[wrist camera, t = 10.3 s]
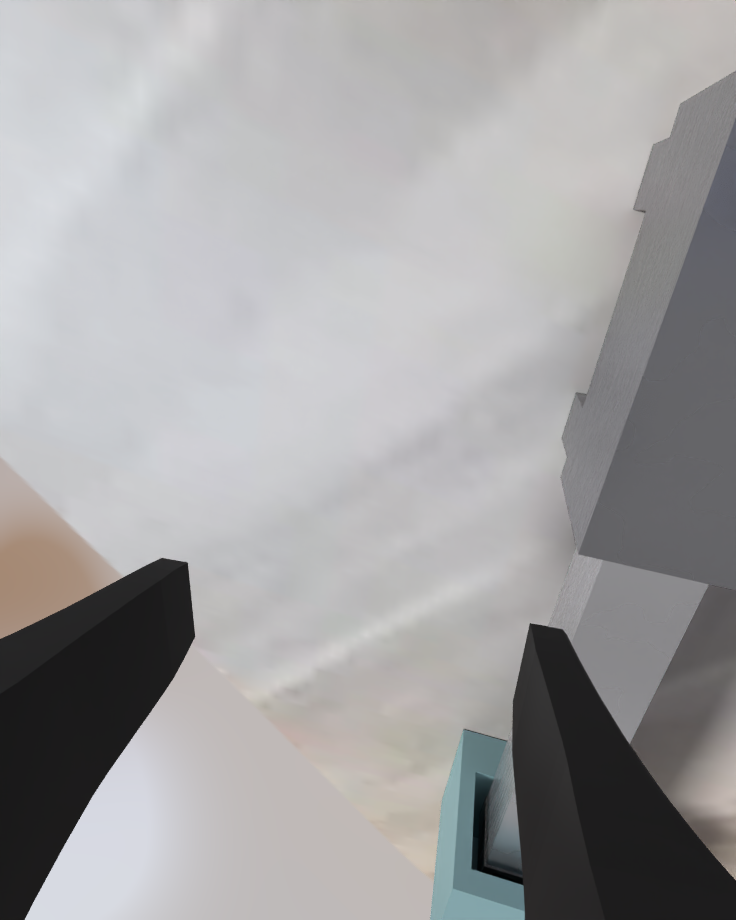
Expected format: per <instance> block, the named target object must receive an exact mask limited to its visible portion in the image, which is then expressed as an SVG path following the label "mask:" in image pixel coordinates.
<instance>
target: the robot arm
mask: <svg viewBox="0 0 736 920" xmlns="http://www.w3.org/2000/svg"><path fill="white" fill-rule="evenodd" d="M194 638H195V631H194V621H193V611H192V601H191V591H190V581H189V571H188V563H187V562H181V561H176V560H170V559H164V558H161V559H159V560H157V561H155V562H152V563H150V564H148V565H146V566H144V567H142V568H140V569H139V570H137V571H135V572H133V573H131V574H129V575H127V576H125V577H123V578H122V579H120V580H118V581H116V582H114V583H112V584H110V585H109V586H107V587H105V588H103V589H101V590H99V591H97V592H95V593H93V594H91V595H90V596H88V597H86V598H84V599H82V600H80V601H78V602H76V603H74V604H72V605H71V606H69V607H67V608H65V609H63V610H60V611H58V612H57V613H54V614H52V615H50V616H48V617H46V618H44V619H42V620H40V621H38V622H36V623H34V624H32V625H30V626H27V627H25V628H23V629H21V630H19V631H17V632H15V633H13V634H11V635H8V636H6V637H4V638H2V639H0V920H25V918H26V916H27V914H28V912H29V910H30V908H31V906H32V904H33V902H34V900H35V898H36V896H37V895H38V893H39V891H40V889H41V887H42V885H43V883H44V882H45V880H46V878H47V876H48V874H49V872H50V871H51V869H52V867H53V865H54V863H55V861H56V859H57V858H58V856H59V854H60V852H61V850H62V848H63V847H64V845H65V843H66V841H67V840H68V838H69V836H70V834H71V833H72V831H73V829H74V827H75V826H76V824H77V822H78V820H79V819H80V817H81V815H82V814H83V812H84V810H85V808H86V807H87V805H88V803H89V801H90V800H91V798H92V796H93V795H94V793H95V791H96V790H97V788H98V787H99V785H100V784H101V782H102V781H103V779H104V778H105V776H106V775H107V773H108V772H109V770H110V769H111V767H112V766H113V765H114V763H115V762H116V760H117V759H118V757H119V756H120V755H121V753H122V752H123V750H124V749H125V747H126V746H127V745H128V743H129V742H130V740H131V739H132V737H133V736H134V734H135V733H136V732H137V730H138V729H139V728H140V726H141V725H142V723H143V722H144V720H145V719H146V717H147V716H148V715H149V713H150V712H151V710H152V709H153V708H154V706H155V705H156V703H157V702H158V700H159V699H160V697H161V696H162V695H163V693H164V692H165V690H166V689H167V687H168V686H169V684H170V682H171V681H172V680H173V678H174V676H175V674H176V673H177V671H178V669H179V667H180V665H181V663H182V662H183V660H184V658H185V656H186V654H187V652H188V650H189V648H190V646H191V644H192V642H193V640H194ZM512 758H513V770H514V782H515V794H516V805H517V816H518V827H519V838H520V850H521V861H522V872H523V886H524V906H525V920H736V880H735V879H734V878H733V877H732V876H731V875H730V874H729V872H728V871H727V870H726V869H725V868H724V867H723V866H722V865H721V864H720V862H719V861H718V860H717V859H716V858H715V857H714V856H713V854H712V853H711V852H710V851H709V850H708V848H707V847H706V846H705V845H704V843H703V842H702V841H701V840H700V839H699V837H698V836H697V835H696V834H695V833H694V831H693V830H692V829H691V828H690V826H689V825H688V824H687V823H686V821H685V820H684V819H683V817H682V816H681V815H680V814H679V812H678V811H677V810H676V808H675V807H674V806H673V805H672V803H671V802H670V801H669V799H668V798H667V797H666V795H665V794H664V793H663V791H662V790H661V789H660V787H659V786H658V784H657V783H656V782H655V780H654V779H653V777H652V776H651V775H650V773H649V772H648V770H647V769H646V767H645V766H644V765H643V763H642V762H641V760H640V759H639V757H638V756H637V754H636V753H635V751H634V750H633V749H632V747H631V745H630V744H629V742H628V741H627V739H626V738H625V736H624V735H623V733H622V732H621V730H620V728H619V727H618V725H617V724H616V722H615V720H614V719H613V717H612V715H611V714H610V712H609V711H608V709H607V707H606V706H605V704H604V702H603V701H602V699H601V697H600V696H599V694H598V692H597V690H596V689H595V687H594V685H593V683H592V682H591V680H590V678H589V676H588V674H587V673H586V671H585V669H584V667H583V665H582V663H581V661H580V660H579V658H578V656H577V654H576V652H575V650H574V648H573V646H572V644H571V642H570V640H569V638H568V636H567V634H566V633H565V632H564V630H563V629H559V628H553V627H548V626H542V625H536V624H531V623H530V626H529V630H528V635H527V639H526V644H525V649H524V653H523V658H522V663H521V667H520V672H519V676H518V681H517V686H516V690H515V695H514V699H513V727H512Z"/></svg>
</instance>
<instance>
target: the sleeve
mask: <svg viewBox="0 0 736 920" xmlns="http://www.w3.org/2000/svg"><path fill="white" fill-rule="evenodd" d="M633 210H640V211H646V213H645V216H644V219H643V222H642V225H641V228H640V231H639V235H638V238H637V241H636V244H635V247H634V250H633V253H632V256H631V259H630V263H629V266H628V269H627V272H626V275H625V278H624V281H623V284H622V287H621V291H620V294H619V297H618V300H617V303H616V306H615V309H614V312H613V315H612V319H611V322H610V325H609V328H608V331H607V334H606V337H605V340H604V343H603V347H602V350H601V353H600V356H599V359H598V362H597V365H596V368H595V372H594V375H593V378H592V381H591V384H590V387H589V390H588V393H587V395H586V394H581V393H576V394H575V398H574V401H573V404H572V407H571V410H570V414H569V417H568V420H567V423H566V426H565V430H564V433H563V436H562V441H563V444H564V448H565V452H566V455H567V459H566V462H565V465H564V468H563V471H562V474H561V481H562V486H563V490H564V494H565V499H566V503H567V508H568V512H569V516H570V521H571V525H572V530H573V534H574V538H575V543H576V547H577V551H578V554H579V555H583V556H587V557H592V558H596V559H600V560H605V561H609V562H614V563H618V564H622V565H627V566H631V567H635V568H640V569H644V570H648V571H653V572H657V573H662V574H666V575H670V576H675V577H679V578H683V579H688V580H692V581H696V582H701V583H705V584H709V585H714V586H718V587H723V588H727V589H731V590H736V71H735V72H733V73H731V74H730V75H728V76H726V77H725V78H723V79H721V80H720V81H718V82H716V83H715V84H713V85H711V86H709V87H708V88H706V89H704V90H703V91H701V92H699V93H698V94H696V95H694V96H693V97H691V98H689V99H687V100H686V101H684V102H682V103H681V104H680V107H679V110H678V113H677V116H676V119H675V123H674V126H673V129H672V132H671V135H670V138H667V139H665V140H663V141H660V142H658V143H656V144H653V148H652V151H651V154H650V157H649V160H648V164H647V167H646V170H645V173H644V176H643V180H642V183H641V186H640V189H639V192H638V196H637V199H636V202H635V205H634V208H633Z"/></svg>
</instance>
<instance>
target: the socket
mask: <svg viewBox="0 0 736 920" xmlns="http://www.w3.org/2000/svg"><path fill="white" fill-rule="evenodd" d="M506 743H507V741H503V740H500V739H496V738H492V737H489V736H485V735H482V734H478V733H474V732H471V731H467V730H463V733H462V736H461V740H460V743H459V746H458V750H457V753H456V756H455V759H454V763H453V766H452V769H451V773H450V776H449V779H448V783H447V786H446V789H445V792H444V796H443V799H442V805H441V815H440V825H439V835H438V846H437V856H436V866H435V876H434V887H433V897H432V907H431V917H430V920H525V906H524V886H523V885H521V884H518V883H514V882H511V881H508V880H505V879H501V878H498V877H495V876H492V875H489V874H485V873H482V872H479V871H477V863H478V834H479V814H480V811H481V808H482V805H483V803H484V800H485V797H487V796H488V793H489V791H490V788H491V785H492V782H493V779H494V777H495V774H496V771H497V768H498V765H499V763H500V760H501V757H502V754H503V751H504V749H505V746H506Z"/></svg>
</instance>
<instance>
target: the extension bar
mask: <svg viewBox="0 0 736 920" xmlns="http://www.w3.org/2000/svg"><path fill="white" fill-rule="evenodd" d="M708 585H709V584H705V583H701V582H696V581H692V580H688V579H683V578H679V577H675V576H670V575H666V574H662V573H657V572H653V571H648V570H644V569H640V568H635V567H631V566H627V565H622V564H618V563H614V562H609V561H605V560H600V559H596V558H592V557H587V556H583V555H579V554H578V551H577V547H576V550H575V552H574V555H573V558H572V561H571V564H570V566H569V569H568V572H567V575H566V578H565V580H564V583H563V586H562V589H561V592H560V594H559V597H558V600H557V603H556V606H555V608H554V611H553V614H552V617H551V620H550V622H549V625H548V627H553V628H559V629H563V630H564V632H565V633H566V634H567V636H568V638H569V640H570V642H571V644H572V646H573V648H574V650H575V652H576V654H577V656H578V658H579V660H580V661H581V663H582V665H583V667H584V669H585V671H586V673H587V674H588V676H589V678H590V680H591V682H592V683H593V685H594V687H595V689H596V690H597V692H598V694H599V696H600V697H601V699H602V701H603V702H604V704H605V706H606V707H607V709H608V711H609V712H610V714H611V715H612V717H613V719H614V720H615V722H616V724H617V725H618V727H619V728H620V730H621V732H622V733H623V735H624V736H625V738H626V739H627V741H628V742H629V744H630V742H631V740H632V738H633V736H634V734H635V732H636V730H637V728H638V726H639V724H640V722H641V720H642V718H643V716H644V714H645V712H646V710H647V708H648V706H649V704H650V702H651V700H652V698H653V696H654V694H655V692H656V690H657V688H658V686H659V684H660V682H661V680H662V678H663V676H664V674H665V672H666V670H667V668H668V666H669V664H670V662H671V660H672V658H673V656H674V654H675V652H676V650H677V648H678V646H679V644H680V642H681V640H682V638H683V636H684V634H685V632H686V630H687V628H688V626H689V624H690V622H691V620H692V618H693V616H694V614H695V612H696V610H697V608H698V605H699V603H700V601H701V599H702V597H703V595H704V593H705V591H706V589H707V587H708ZM512 727H513V726H512ZM477 871H479V872H482V873H485V874H489V875H492V876H495V877H498V878H501V879H505V880H508V881H511V882H514V883H518V884H521V885H523V872H522V861H521V850H520V838H519V827H518V816H517V805H516V794H515V782H514V770H513V758H512V729H511V732H510V735H509V737H508V740H507V743H506V746H505V749H504V751H503V754H502V757H501V760H500V763H499V765H498V768H497V771H496V774H495V777H494V779H493V782H492V785H491V788H490V791H489V793H488V796H487V797H485V800H484V803H483V805H482V808H481V811H480V814H479V834H478V863H477Z"/></svg>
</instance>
